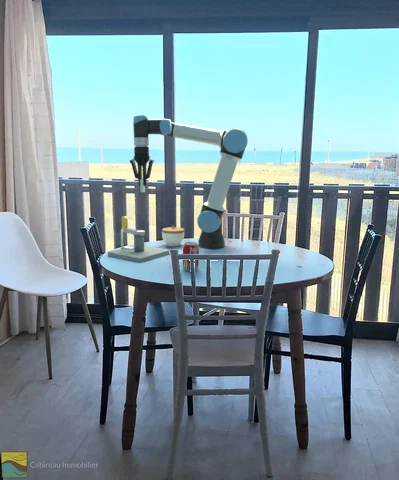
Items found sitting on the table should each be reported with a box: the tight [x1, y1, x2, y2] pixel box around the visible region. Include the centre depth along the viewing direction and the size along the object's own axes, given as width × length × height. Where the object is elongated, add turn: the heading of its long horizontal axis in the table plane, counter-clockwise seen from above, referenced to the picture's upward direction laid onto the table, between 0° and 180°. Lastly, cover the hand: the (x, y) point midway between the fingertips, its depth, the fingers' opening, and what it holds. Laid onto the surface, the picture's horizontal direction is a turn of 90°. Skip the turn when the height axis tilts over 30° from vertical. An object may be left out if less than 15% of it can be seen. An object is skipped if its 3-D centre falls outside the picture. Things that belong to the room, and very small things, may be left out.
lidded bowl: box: [161, 225, 185, 247], centre depth 231 cm, size 13×13×11 cm
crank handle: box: [121, 215, 146, 237], centre depth 208 cm, size 16×6×8 cm, turn 49°
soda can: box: [182, 241, 200, 272], centre depth 180 cm, size 7×7×12 cm
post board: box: [107, 228, 170, 263], centre depth 206 cm, size 22×22×12 cm
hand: (142, 192), depth 217 cm, fingers closed
